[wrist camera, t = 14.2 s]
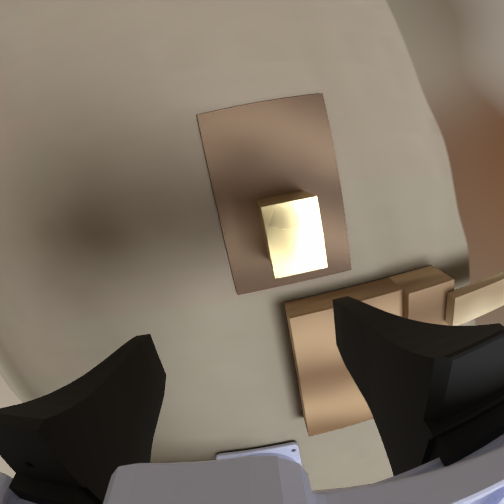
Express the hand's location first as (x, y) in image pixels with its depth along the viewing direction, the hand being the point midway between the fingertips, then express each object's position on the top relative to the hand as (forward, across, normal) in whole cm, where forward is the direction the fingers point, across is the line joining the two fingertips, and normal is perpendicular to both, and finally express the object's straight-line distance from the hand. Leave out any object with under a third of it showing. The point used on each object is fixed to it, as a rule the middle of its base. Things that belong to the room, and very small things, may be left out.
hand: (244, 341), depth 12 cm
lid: (+10, -3, -4) cm, 11 cm away
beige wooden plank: (+6, -19, +5) cm, 21 cm away
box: (+10, -8, +9) cm, 16 cm away
